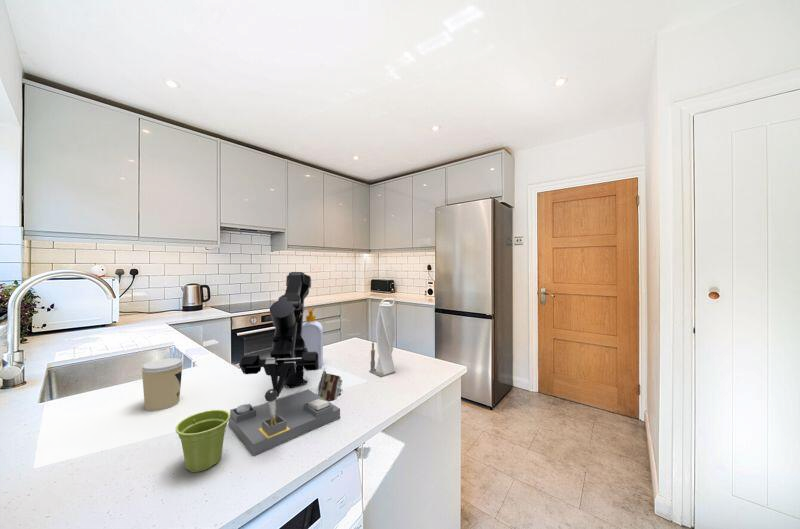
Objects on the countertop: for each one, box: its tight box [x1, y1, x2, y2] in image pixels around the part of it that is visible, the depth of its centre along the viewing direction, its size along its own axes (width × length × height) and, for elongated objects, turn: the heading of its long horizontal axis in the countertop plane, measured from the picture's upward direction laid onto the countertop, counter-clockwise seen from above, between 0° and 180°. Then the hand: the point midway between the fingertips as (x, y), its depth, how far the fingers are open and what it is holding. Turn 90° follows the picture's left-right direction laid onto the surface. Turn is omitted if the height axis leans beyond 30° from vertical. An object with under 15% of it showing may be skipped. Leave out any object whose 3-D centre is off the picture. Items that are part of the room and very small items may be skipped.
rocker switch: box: [308, 399, 330, 410], centre depth 79 cm, size 5×3×1 cm, turn 46°
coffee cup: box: [140, 357, 184, 412], centre depth 86 cm, size 9×9×12 cm
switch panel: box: [227, 388, 341, 456], centre depth 77 cm, size 17×22×4 cm
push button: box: [236, 403, 251, 415], centre depth 75 cm, size 3×3×1 cm
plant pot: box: [175, 409, 230, 473], centre depth 61 cm, size 9×9×9 cm
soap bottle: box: [302, 308, 324, 370], centre depth 118 cm, size 9×7×23 cm
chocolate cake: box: [317, 367, 343, 402], centre depth 94 cm, size 10×7×12 cm
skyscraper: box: [368, 297, 397, 378], centre depth 113 cm, size 8×8×28 cm
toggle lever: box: [264, 388, 278, 426], centre depth 67 cm, size 3×3×11 cm
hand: (276, 396), depth 72 cm, fingers closed
